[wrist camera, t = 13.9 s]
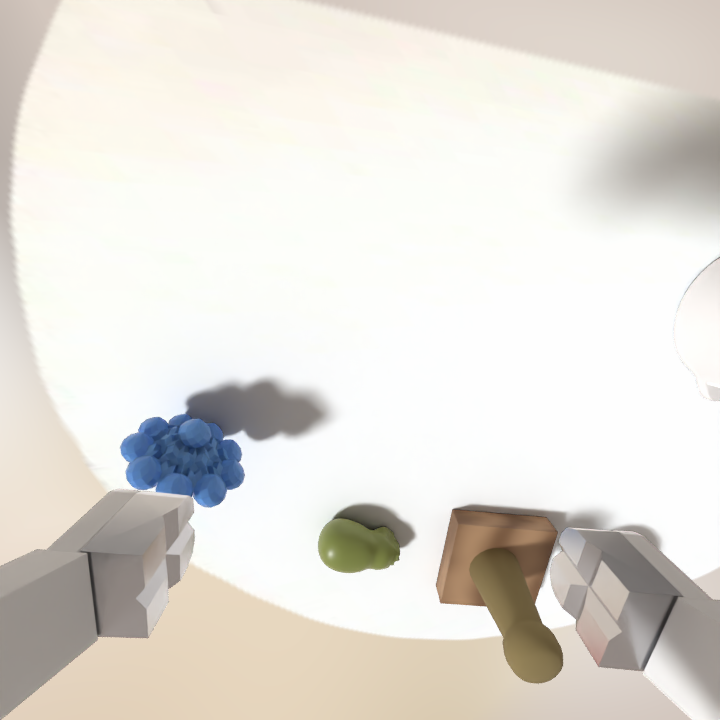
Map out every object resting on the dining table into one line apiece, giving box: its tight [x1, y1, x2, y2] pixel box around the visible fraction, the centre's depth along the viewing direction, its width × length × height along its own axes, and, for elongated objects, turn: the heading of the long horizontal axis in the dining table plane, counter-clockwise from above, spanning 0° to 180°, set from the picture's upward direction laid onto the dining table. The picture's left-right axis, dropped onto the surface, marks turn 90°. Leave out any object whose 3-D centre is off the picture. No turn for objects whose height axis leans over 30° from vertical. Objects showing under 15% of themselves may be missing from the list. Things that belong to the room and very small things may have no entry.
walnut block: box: [436, 509, 558, 606], centre depth 43 cm, size 12×12×2 cm
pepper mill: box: [469, 548, 563, 683], centre depth 36 cm, size 6×6×11 cm
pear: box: [318, 518, 400, 573], centre depth 41 cm, size 6×5×10 cm
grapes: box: [120, 414, 245, 507], centre depth 32 cm, size 12×7×12 cm, turn 66°
